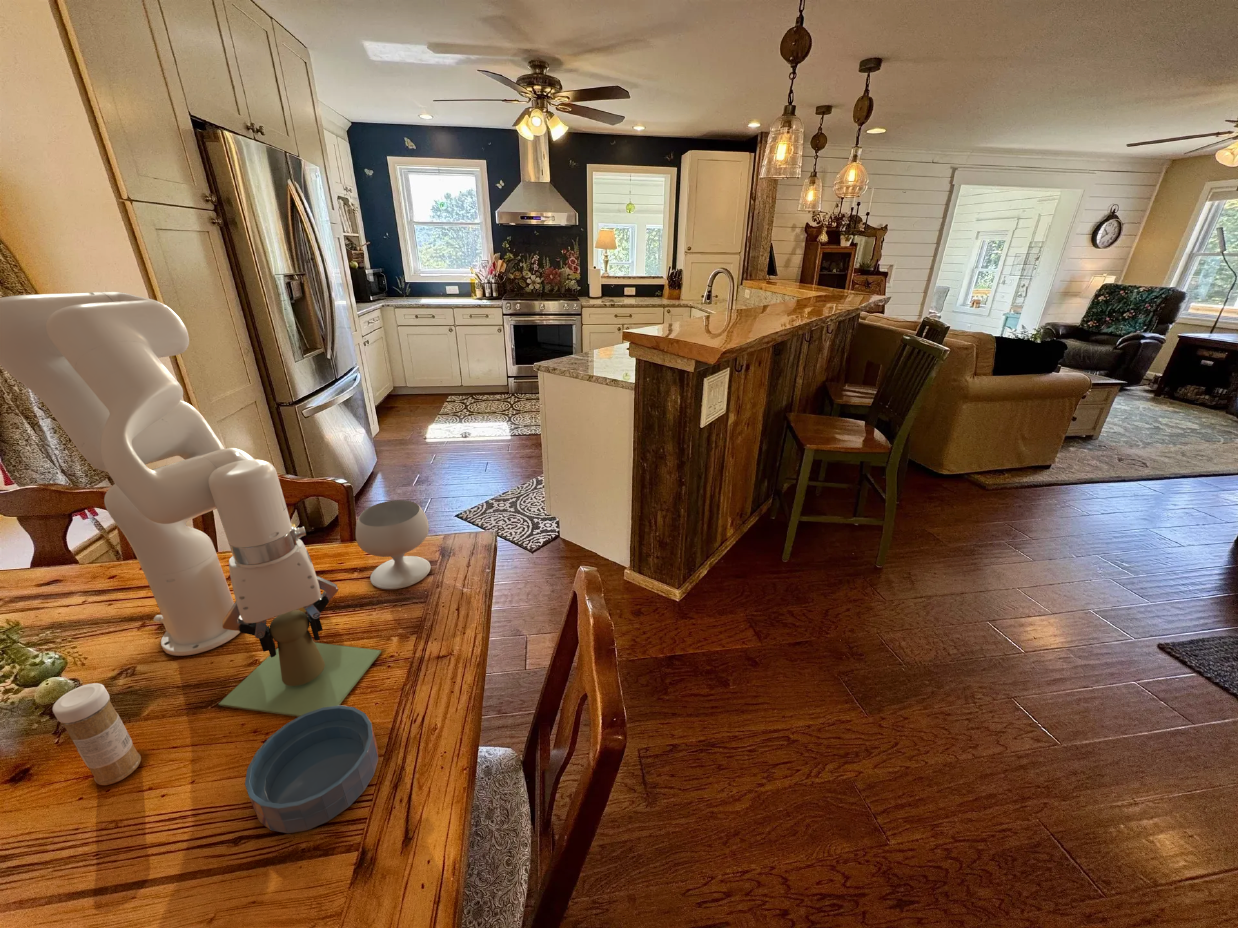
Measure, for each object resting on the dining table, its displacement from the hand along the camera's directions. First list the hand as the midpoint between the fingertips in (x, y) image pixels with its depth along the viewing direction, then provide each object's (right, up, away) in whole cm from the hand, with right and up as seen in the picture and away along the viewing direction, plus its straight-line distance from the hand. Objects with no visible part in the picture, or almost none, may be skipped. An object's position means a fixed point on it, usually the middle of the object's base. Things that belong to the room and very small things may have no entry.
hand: (294, 642), depth 78 cm
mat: (0, -7, +3) cm, 7 cm away
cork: (0, -6, +2) cm, 6 cm away
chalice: (+4, +4, +29) cm, 30 cm away
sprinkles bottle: (-15, -13, -12) cm, 23 cm away
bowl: (+12, -13, -13) cm, 22 cm away
